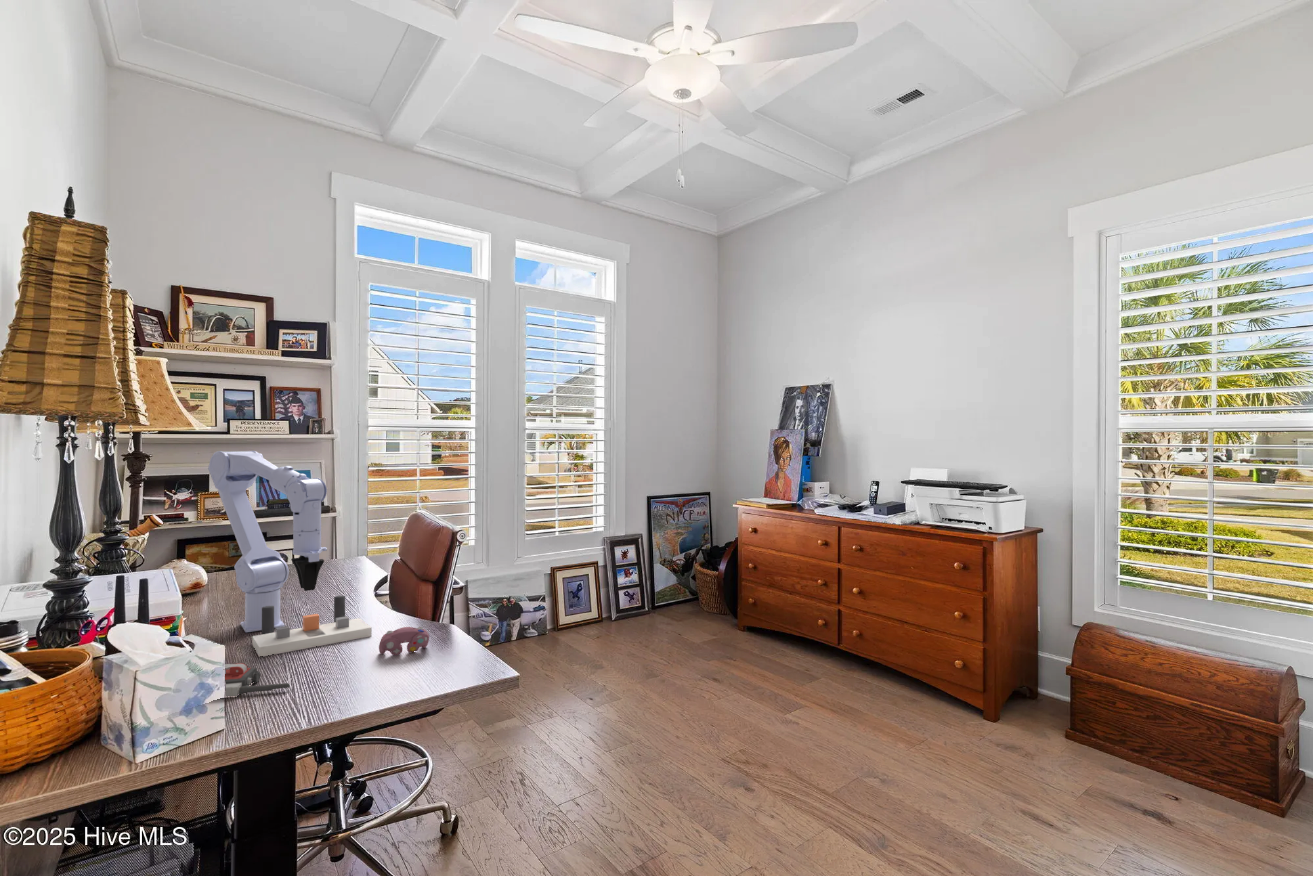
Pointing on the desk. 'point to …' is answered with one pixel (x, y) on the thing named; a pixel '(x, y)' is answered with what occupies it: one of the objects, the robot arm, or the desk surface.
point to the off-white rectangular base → (310, 636)
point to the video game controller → (404, 640)
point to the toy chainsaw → (245, 680)
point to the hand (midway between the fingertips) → (307, 588)
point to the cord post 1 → (267, 619)
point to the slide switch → (310, 622)
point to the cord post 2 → (339, 607)
